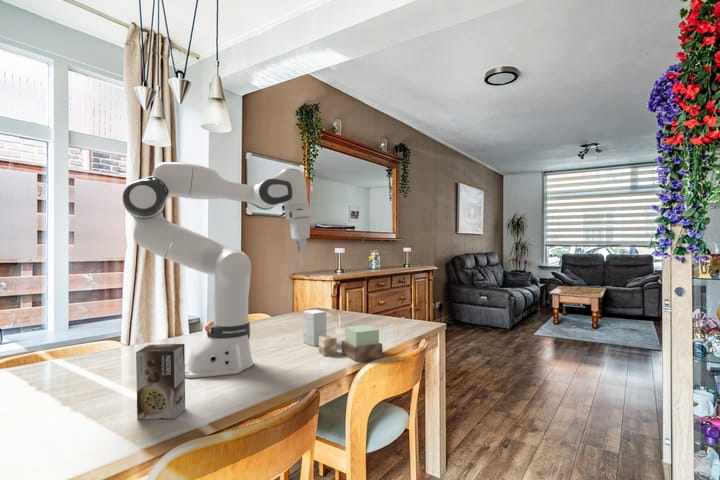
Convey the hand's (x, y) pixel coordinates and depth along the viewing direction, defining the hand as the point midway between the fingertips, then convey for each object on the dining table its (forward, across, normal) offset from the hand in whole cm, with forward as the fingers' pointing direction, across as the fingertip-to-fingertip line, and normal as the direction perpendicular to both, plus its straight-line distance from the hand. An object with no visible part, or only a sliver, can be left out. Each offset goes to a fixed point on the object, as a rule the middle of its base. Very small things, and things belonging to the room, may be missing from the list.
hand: (301, 251), depth 142 cm
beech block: (+39, +1, +5) cm, 39 cm away
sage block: (+35, +7, +17) cm, 40 cm away
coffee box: (+33, +38, -44) cm, 67 cm away
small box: (+39, -15, +4) cm, 42 cm away
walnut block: (+40, +7, +16) cm, 44 cm away
